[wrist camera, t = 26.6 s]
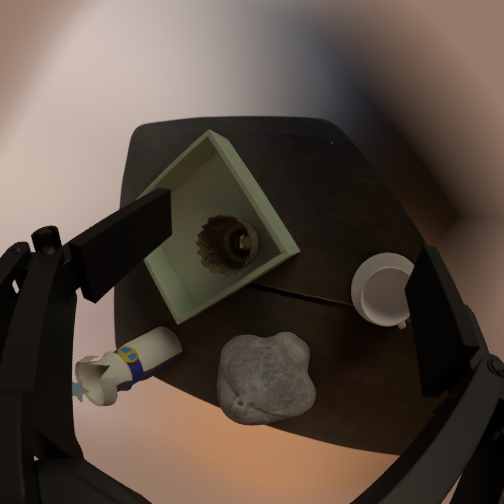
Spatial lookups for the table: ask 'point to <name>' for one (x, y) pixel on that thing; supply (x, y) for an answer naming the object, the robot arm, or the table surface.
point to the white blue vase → (126, 366)
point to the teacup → (382, 289)
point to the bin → (197, 213)
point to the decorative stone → (264, 378)
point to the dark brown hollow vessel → (227, 244)
